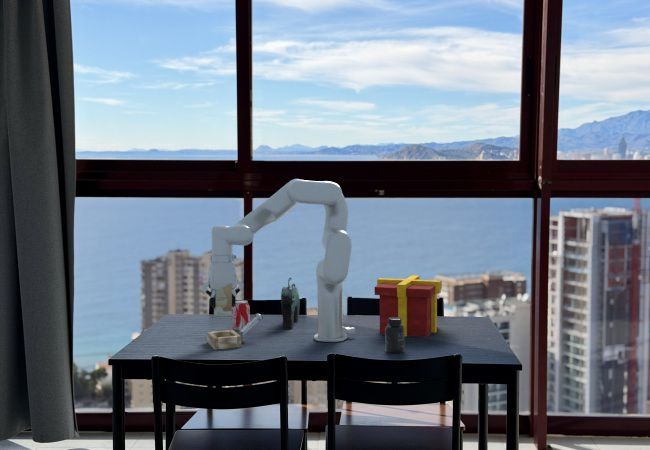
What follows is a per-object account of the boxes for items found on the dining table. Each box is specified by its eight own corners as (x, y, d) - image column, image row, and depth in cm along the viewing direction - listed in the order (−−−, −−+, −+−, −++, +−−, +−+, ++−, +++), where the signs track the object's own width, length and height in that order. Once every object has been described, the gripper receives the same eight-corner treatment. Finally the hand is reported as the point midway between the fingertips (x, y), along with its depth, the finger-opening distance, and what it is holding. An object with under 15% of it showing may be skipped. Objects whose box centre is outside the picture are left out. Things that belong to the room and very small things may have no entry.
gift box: (433, 339, 325) (433, 286, 323) (369, 335, 333) (369, 283, 332) (446, 326, 349) (446, 276, 347) (386, 322, 357) (386, 274, 355)
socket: (233, 340, 327) (233, 330, 326) (241, 347, 315) (241, 336, 315) (207, 342, 323) (207, 332, 323) (214, 349, 312) (214, 338, 312)
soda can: (247, 333, 339) (246, 303, 338) (229, 332, 340) (229, 302, 339) (252, 329, 346) (251, 300, 345) (235, 329, 347) (234, 299, 346)
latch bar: (261, 316, 329) (257, 312, 328) (263, 317, 326) (260, 314, 325) (240, 336, 327) (236, 332, 326) (242, 338, 323) (239, 334, 323)
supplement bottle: (403, 349, 310) (403, 316, 309) (405, 353, 303) (405, 320, 302) (384, 349, 309) (384, 316, 308) (386, 354, 303) (386, 320, 302)
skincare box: (215, 316, 315) (214, 283, 314) (213, 314, 319) (213, 281, 318) (232, 315, 317) (232, 282, 316) (230, 313, 321) (230, 281, 320)
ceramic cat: (293, 330, 344) (292, 280, 342) (277, 329, 345) (276, 280, 343) (302, 320, 364) (301, 273, 362) (287, 319, 365) (286, 273, 363)
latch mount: (239, 339, 328) (239, 329, 328) (243, 342, 322) (243, 332, 322) (232, 340, 327) (231, 329, 327) (236, 343, 321) (235, 332, 321)
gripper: (242, 256, 323) (243, 303, 325) (196, 259, 317) (197, 307, 319) (247, 259, 316) (248, 307, 317) (201, 261, 310) (202, 310, 312)
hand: (223, 306), depth 318 cm, fingers closed on skincare box, 6 cm apart
